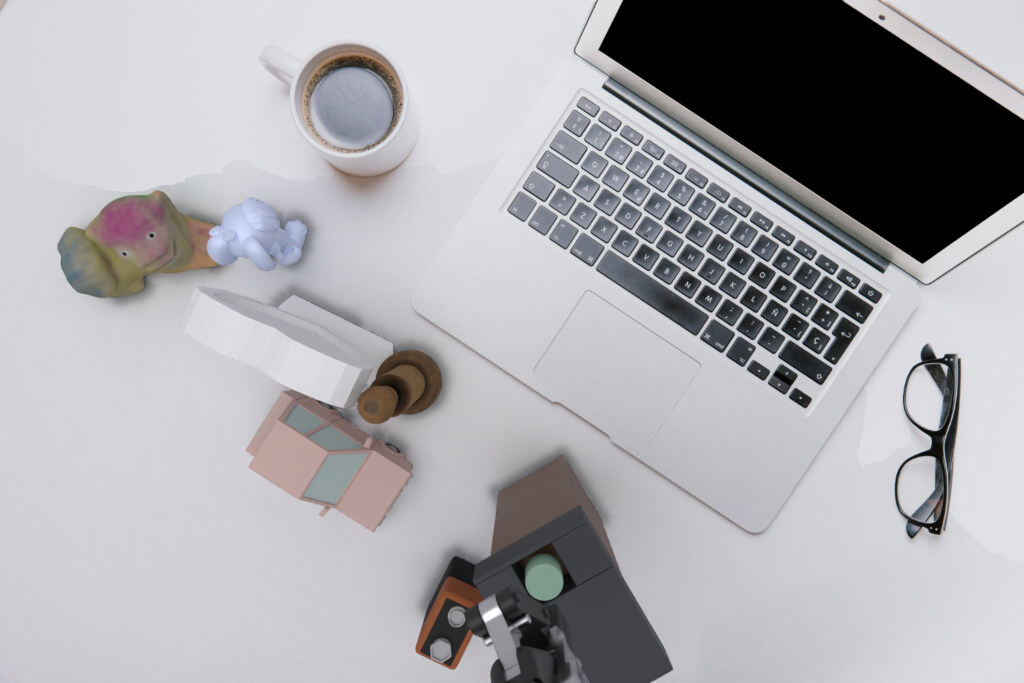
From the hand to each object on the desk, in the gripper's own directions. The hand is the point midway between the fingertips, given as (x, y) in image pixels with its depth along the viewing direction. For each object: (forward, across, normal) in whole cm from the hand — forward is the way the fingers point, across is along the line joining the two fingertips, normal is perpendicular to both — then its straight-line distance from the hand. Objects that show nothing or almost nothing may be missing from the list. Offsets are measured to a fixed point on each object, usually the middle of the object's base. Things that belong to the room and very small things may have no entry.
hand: (546, 621), depth 40 cm
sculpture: (+31, -41, -22) cm, 56 cm away
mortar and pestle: (+31, -16, -6) cm, 35 cm away
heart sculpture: (+31, -24, -11) cm, 40 cm away
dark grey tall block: (+31, +4, 0) cm, 31 cm away
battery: (+31, +6, -13) cm, 34 cm away
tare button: (+8, 0, 0) cm, 8 cm away
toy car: (+31, -13, -16) cm, 37 cm away
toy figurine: (+31, -35, -10) cm, 48 cm away
